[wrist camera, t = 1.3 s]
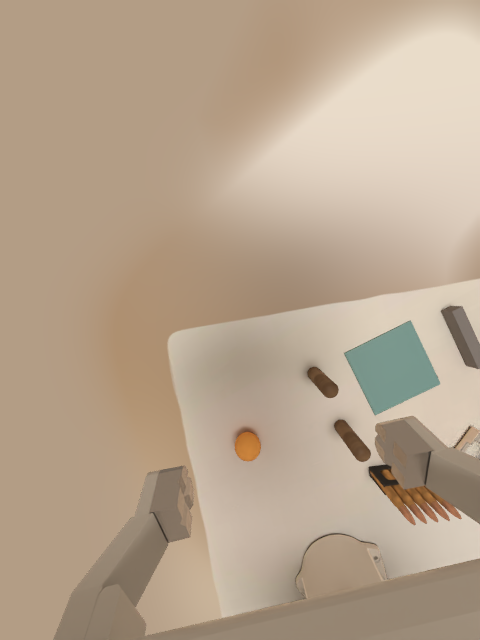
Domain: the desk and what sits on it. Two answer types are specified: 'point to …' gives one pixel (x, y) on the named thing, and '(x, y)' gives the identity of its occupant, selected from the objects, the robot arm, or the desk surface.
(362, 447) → the post
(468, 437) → the portable electronic device stand
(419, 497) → the ammunition clip
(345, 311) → the desk surface
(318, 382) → the post
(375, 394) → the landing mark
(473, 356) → the wall
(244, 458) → the ball
